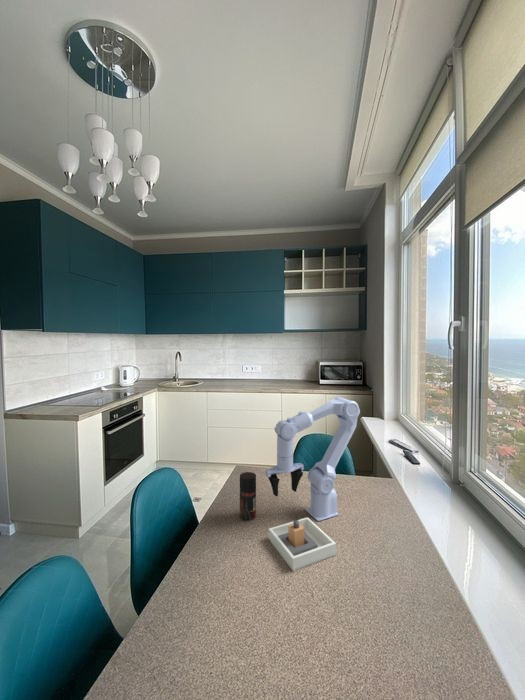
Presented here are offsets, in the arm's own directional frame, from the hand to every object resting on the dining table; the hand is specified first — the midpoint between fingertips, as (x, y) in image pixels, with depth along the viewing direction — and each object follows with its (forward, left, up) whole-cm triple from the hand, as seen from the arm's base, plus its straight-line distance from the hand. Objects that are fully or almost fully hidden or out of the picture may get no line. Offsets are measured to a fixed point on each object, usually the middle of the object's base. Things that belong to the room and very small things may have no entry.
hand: (284, 492), depth 107 cm
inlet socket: (+4, +15, -10) cm, 18 cm away
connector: (+4, +14, -9) cm, 17 cm away
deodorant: (+11, -8, -10) cm, 17 cm away
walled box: (+2, +15, -10) cm, 18 cm away
